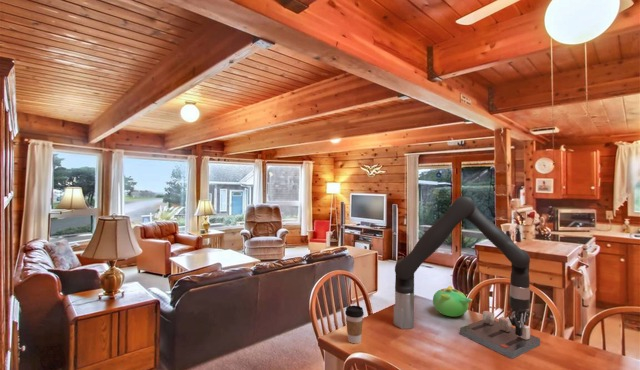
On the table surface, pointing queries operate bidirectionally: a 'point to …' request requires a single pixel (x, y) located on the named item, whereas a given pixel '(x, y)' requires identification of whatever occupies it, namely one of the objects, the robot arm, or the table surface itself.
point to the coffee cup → (354, 323)
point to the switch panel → (499, 336)
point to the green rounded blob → (451, 302)
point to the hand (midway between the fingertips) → (518, 335)
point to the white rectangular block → (525, 332)
